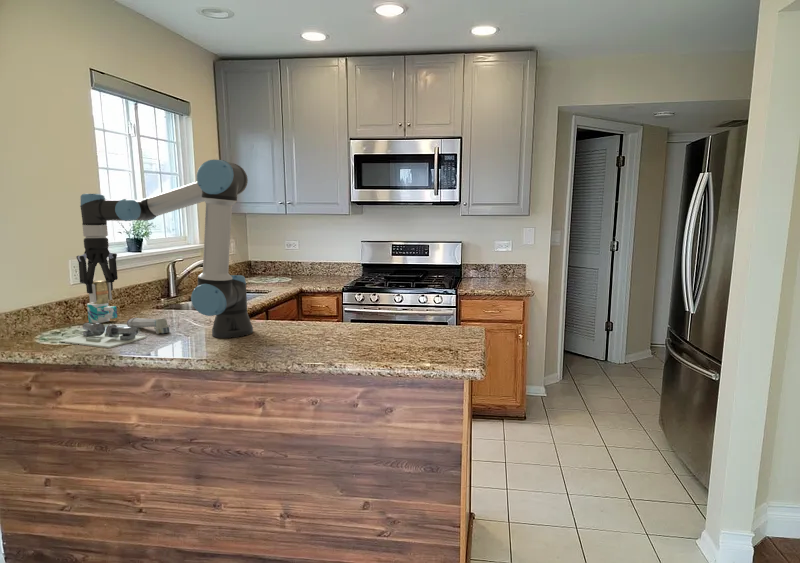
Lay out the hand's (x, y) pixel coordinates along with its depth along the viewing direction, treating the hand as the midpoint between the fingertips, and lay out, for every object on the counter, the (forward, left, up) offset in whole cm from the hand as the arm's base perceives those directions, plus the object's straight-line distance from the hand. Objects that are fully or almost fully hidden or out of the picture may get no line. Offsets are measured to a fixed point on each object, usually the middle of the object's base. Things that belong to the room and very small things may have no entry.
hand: (101, 300), depth 179 cm
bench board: (+2, -1, -15) cm, 15 cm away
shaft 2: (-6, -3, -15) cm, 16 cm away
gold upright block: (0, 0, -1) cm, 1 cm away
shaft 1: (+11, -3, -15) cm, 18 cm away
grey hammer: (0, -19, -16) cm, 25 cm away
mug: (+34, -26, -16) cm, 46 cm away
